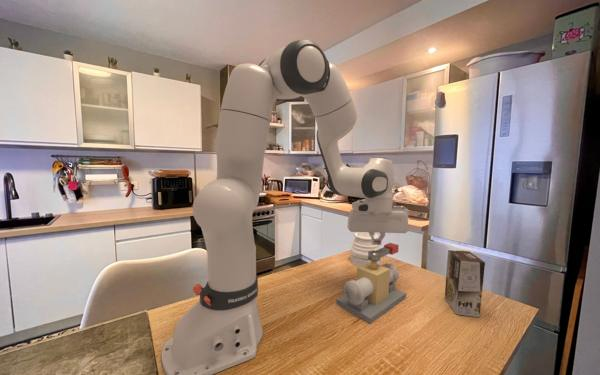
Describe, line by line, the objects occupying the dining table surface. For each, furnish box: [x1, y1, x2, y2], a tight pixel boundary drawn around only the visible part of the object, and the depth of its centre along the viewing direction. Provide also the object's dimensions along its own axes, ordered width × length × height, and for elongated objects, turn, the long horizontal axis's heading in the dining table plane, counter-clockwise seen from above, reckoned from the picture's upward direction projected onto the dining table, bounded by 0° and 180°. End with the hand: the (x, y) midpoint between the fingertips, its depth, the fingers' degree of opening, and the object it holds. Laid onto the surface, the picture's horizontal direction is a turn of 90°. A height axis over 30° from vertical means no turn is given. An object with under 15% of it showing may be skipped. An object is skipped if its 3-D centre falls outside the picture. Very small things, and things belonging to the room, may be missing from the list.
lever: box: [368, 242, 400, 261], centre depth 78 cm, size 14×4×2 cm, turn 130°
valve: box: [335, 261, 407, 325], centre depth 75 cm, size 20×12×13 cm, turn 130°
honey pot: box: [349, 232, 382, 267], centre depth 105 cm, size 13×13×18 cm
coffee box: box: [444, 249, 486, 318], centre depth 72 cm, size 9×6×16 cm
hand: (376, 244), depth 85 cm, fingers closed
